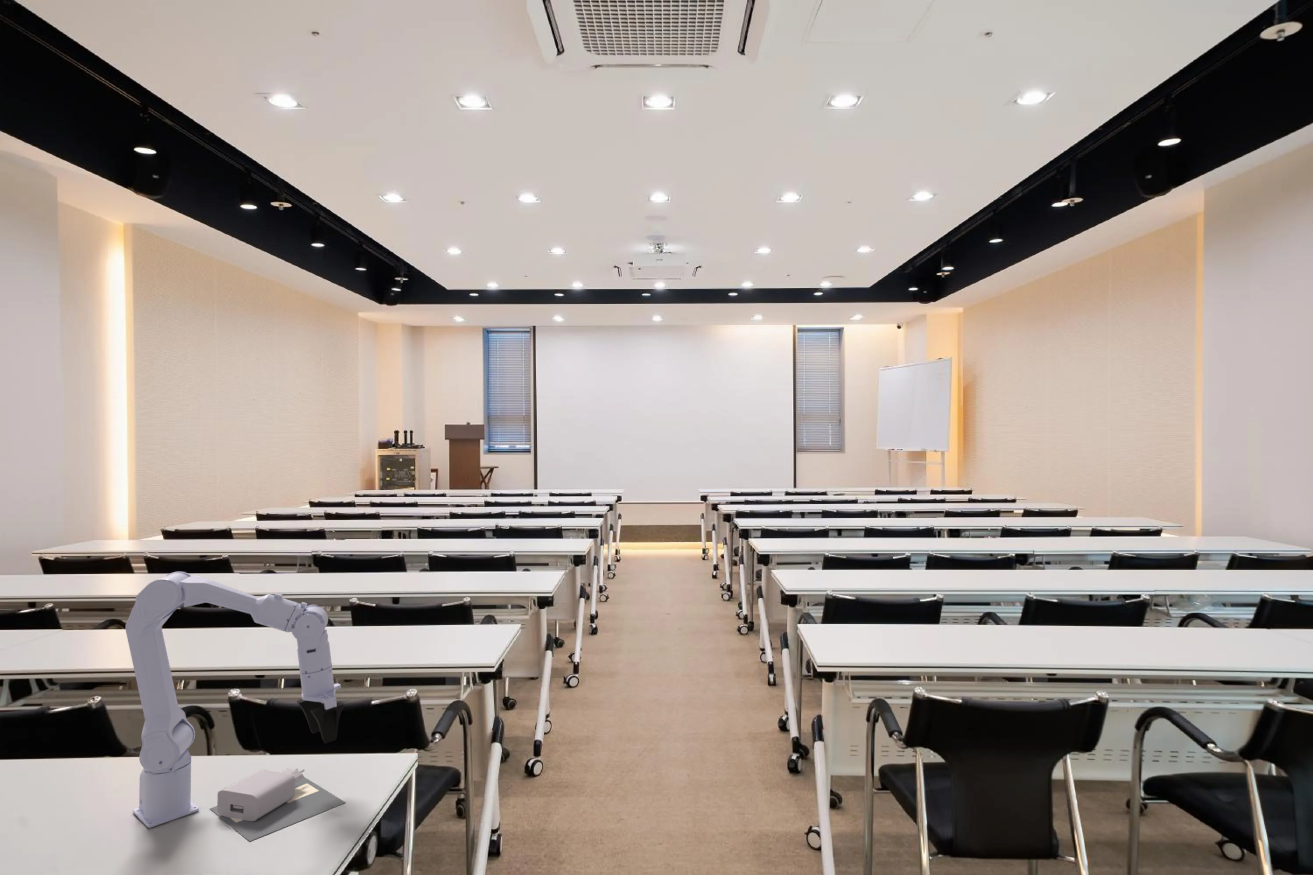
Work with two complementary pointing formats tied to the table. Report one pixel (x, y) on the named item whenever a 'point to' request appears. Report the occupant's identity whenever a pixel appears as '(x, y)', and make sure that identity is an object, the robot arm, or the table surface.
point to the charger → (258, 794)
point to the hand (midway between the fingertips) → (323, 736)
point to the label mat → (286, 811)
